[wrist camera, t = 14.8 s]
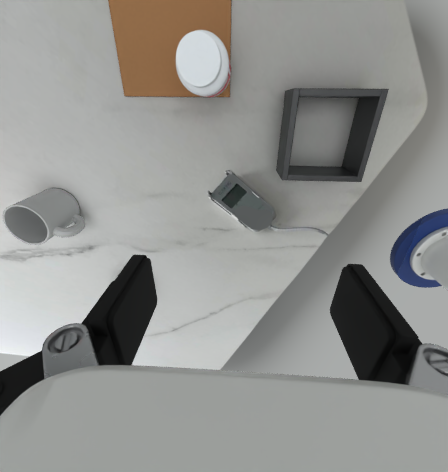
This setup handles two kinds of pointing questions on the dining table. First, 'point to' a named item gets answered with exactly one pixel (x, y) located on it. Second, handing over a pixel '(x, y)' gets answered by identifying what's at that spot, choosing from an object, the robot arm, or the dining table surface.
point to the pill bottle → (203, 63)
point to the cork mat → (162, 40)
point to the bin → (357, 143)
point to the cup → (44, 217)
